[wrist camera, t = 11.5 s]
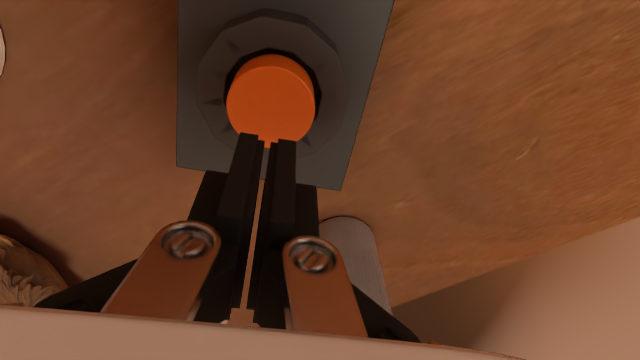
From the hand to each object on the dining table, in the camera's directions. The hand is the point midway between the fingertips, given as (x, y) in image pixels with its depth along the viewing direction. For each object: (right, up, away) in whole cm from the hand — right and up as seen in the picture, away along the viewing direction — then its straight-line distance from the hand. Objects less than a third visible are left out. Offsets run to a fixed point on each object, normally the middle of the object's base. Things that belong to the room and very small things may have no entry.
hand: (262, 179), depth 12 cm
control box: (0, +6, +8) cm, 10 cm away
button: (0, +4, +5) cm, 7 cm away
